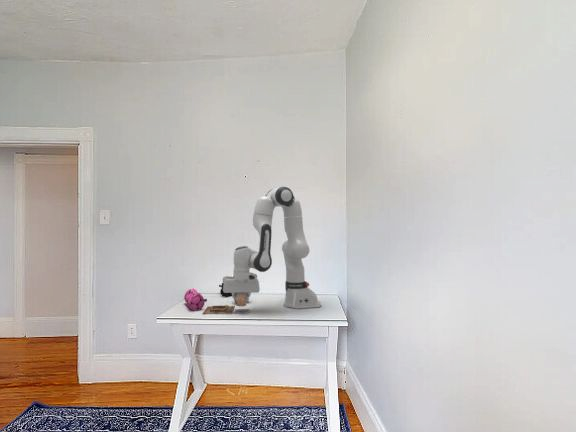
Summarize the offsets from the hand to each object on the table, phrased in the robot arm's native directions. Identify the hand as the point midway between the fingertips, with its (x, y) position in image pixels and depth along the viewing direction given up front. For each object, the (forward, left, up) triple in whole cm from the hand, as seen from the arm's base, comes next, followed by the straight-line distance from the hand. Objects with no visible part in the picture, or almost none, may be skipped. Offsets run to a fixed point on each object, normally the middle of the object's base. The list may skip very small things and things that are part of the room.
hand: (241, 300), depth 194 cm
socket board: (+13, -4, -6) cm, 15 cm away
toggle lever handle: (0, +1, -2) cm, 2 cm away
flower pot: (+2, -21, -6) cm, 22 cm away
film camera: (+12, -42, -6) cm, 44 cm away
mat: (0, 0, -6) cm, 6 cm away
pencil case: (+29, -14, -7) cm, 32 cm away
